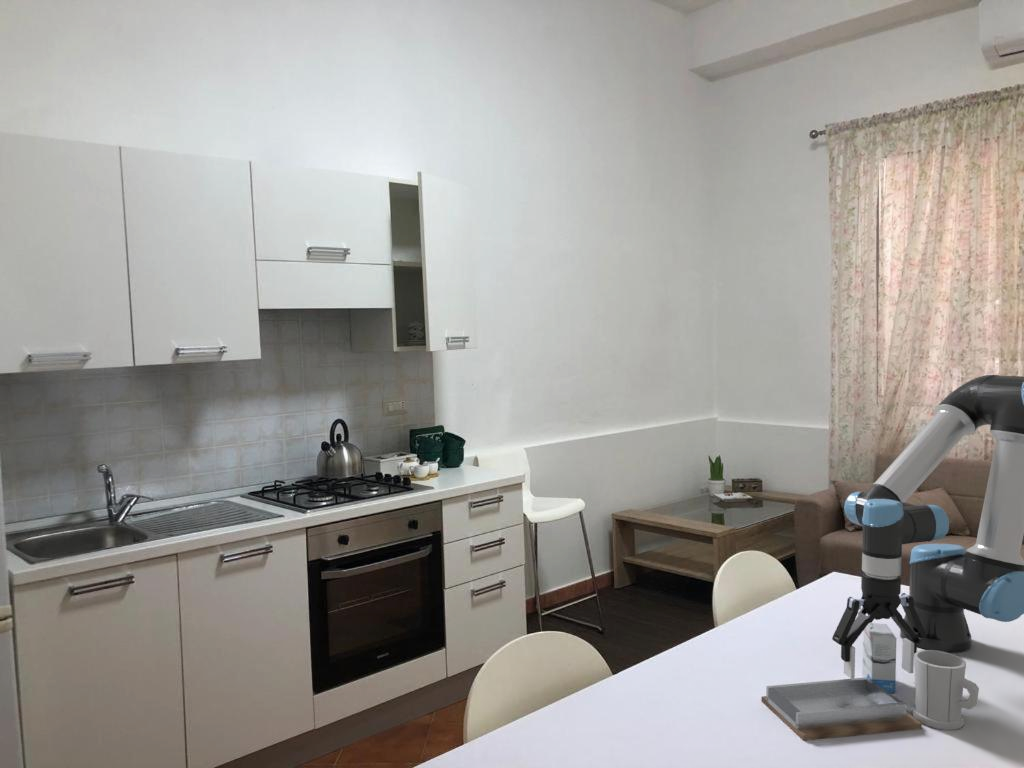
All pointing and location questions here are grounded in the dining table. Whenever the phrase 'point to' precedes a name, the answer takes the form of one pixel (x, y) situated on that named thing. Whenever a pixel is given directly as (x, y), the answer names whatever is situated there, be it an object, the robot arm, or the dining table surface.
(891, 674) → the ink box
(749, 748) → the dining table surface
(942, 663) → the cup
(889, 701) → the metal serving tray
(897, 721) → the panel
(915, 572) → the robot arm
